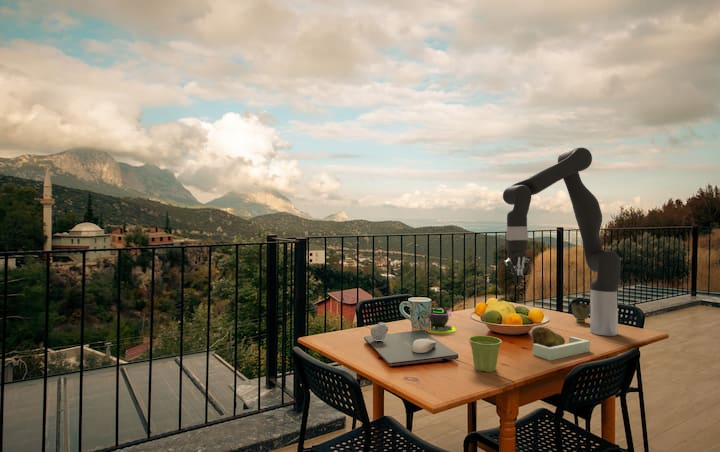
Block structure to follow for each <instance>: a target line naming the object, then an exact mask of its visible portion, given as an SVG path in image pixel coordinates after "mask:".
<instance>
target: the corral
mask: <svg viewBox="0 0 720 452" xmlns="http://www.w3.org/2000/svg"><path fill="white" fill-rule="evenodd" d="M590 347H591V343H590V340H587V339H583V338H579V337H575V336H569V339H568V343H565V344H564V345H559V346H554V347H546V346H543V345H539V344H535V343H532V355H533V356H535V357H539V358H542V359H545V360H548V361H554V360H557V359H562V358H563V359H564V358H567V357H570V356H575V355H576V356H577V355H580V354H583V353H584V354H585V353H588V352H589V353H590Z"/></svg>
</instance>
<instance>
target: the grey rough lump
mask: <svg viewBox="0 0 720 452" xmlns="http://www.w3.org/2000/svg"><path fill="white" fill-rule="evenodd" d="M369 330H370V335H371V338H372V339H373V340H374V339H376V340H382V339H384V340H385V338H386V335H387V333H388V331H389V326H388V325H387V324H386V322H381V321H380V322H378V323H377V324H376V325H373V326H372V327H371V328H370V329H369Z"/></svg>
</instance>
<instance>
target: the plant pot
mask: <svg viewBox="0 0 720 452" xmlns="http://www.w3.org/2000/svg"><path fill="white" fill-rule="evenodd" d="M468 341H469V343H470V346H471V351H472V352H471V353H472V360H473V367H474V369H475V370H477V371H479V372H486V373H491V372H492V373H493V372H495V371H496V369H497V364H498V357H499V349H500V347H501V344H502V342H503V341H502V339H500V338H498V337H495V336H490V335H473V336H470V337H468Z"/></svg>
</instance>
